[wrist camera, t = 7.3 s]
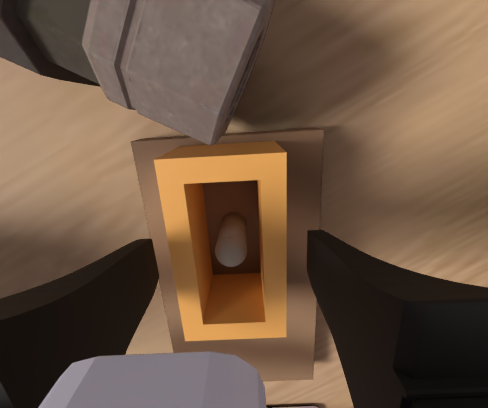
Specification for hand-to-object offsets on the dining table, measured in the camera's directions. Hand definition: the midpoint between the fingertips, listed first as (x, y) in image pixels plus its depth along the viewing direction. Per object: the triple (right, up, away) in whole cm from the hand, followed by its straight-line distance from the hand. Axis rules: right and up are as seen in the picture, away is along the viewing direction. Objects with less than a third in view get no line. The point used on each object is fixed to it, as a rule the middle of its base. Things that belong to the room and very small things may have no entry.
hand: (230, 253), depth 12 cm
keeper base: (0, -2, +6) cm, 6 cm away
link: (0, +1, +3) cm, 3 cm away
